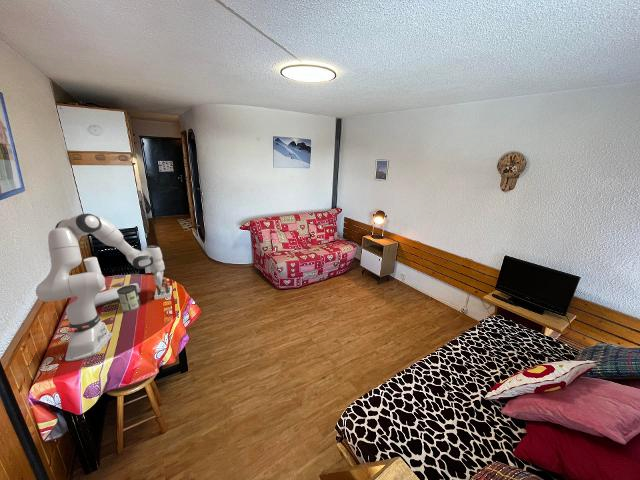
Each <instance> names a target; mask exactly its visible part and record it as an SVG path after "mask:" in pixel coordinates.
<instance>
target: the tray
mask: <svg viewBox="0 0 640 480" xmlns="http://www.w3.org/2000/svg"><path fill="white" fill-rule="evenodd" d="M128 285H135V286H136V288H137V292H138V294H139V293H141V289H140V286H139V284H138V282H135V283H134V282H133V283H131V284H127V285H123V286H120V287H116V288H111V289H107V290H105V291H104V290H103V291H100V292H98V293H97V295H96V297H95V300H94V304H95V308H96V307H99V306H102V305H106V304H109V303H112V301H113V302H116V301H120V300H119V296H118V293H117V290H118V289H120V288H121V287H124V286H128Z"/></svg>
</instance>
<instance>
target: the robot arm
mask: <svg viewBox="0 0 640 480" xmlns="http://www.w3.org/2000/svg"><path fill="white" fill-rule="evenodd" d="M89 234H91V235H93V236H94V237H95V239H98V240H99V241H100V242H101V243H103V244H104V245H106V246H109V247H114V248H116V249H118V250H119V251H120V252H121V253H122V254H123V255H125V256H124V257H125V258H126V260H127V261H128V263H129V264H131V266H133V267H134V268H135V269H138V270H141V269H146V268H147V267H149V268H148V269H149V272H151V273H152V274H153V279H154V285H155V286H156V285H158V286H159V289H160V288H163V285H161V284H162V283H163V282H162V280H164V279H163V278H164V271H165V269H166V267H165V262H164V260H163V253H162V250H161V248H160V247H159V246H158V245H154V244H153V245H151V244H150V245H147V246H146V247H145V248H144V249H143V250H140V249H137V248H134V247H132V245H130V244H129V243H128V242H127V241H126V240H125V239H124V235H123V233H122V232H121V231H120V229H118V227H116V225H114V224H113V223H112V222H110V221H109V220H107V219H106V218H104V217H102V216H100V215H94V214H92V213H80V214H79V215H74V216H70V217H67V218H65V219H62V220H60V221H58V223H56V224H55V228H54V229H52V230H50V231H49V232H48V237H47V239H48V241H47V242H48V243H47V245H48V251H49V256H50V263H51V264H50V265H51V266H50V271H49V273H48V274H47V275H46V277H45V278H44V279H43V280H42V281H41V282H40V283H38V284H37V286H36V288H35V295H36V297H37V298H38V299H39V301H40V300H41V301H42V302H56V301H62V300H65V299H70V298H77V299H75V300H74V301H72V302H71V303H69V304H68V305H67V306H66V308H65V314H66V316H67V318H68V327H69V328H68V330H67V332H68V333H69V338H68V345H67V350H66V354H65V358H64V360H65V362H74V361H75V362H76V361H78V360H79V361H81V360H83V359H87V358H90V357H92V355H93V356H96V355H97V354H99V353H101V351H102V350H103V349H102V348H104V347H105V346H106V345H105V344H107V343H108V342H109V340H110V339H111V338H112V336H113V335H114V334H113V332H110V331H109V330H108V327H107V325H106V324H105V322H104V321H102V320H101V318H100V314H99V312H98V311H97V310H96V309H97V308H96V307H95V304H94V300H95V297H96V295H97V293H100V292H101V291H100V290H101V289H102V288H103V287H104V285H105V286H106V278H105V275H103V273H102V272H101V273H102V274H101V273H99V272H87V271H86V272H81V273H77V274H72V275H70V272H71V271H72V270H73V269H75V268H77V267H78V266H80V265H81V263H82V260H83V258H82V254H81V249H80V248H81V247H80V244H79V241H78V238H79V237H83V236H86V235H89ZM99 291H100V292H99Z"/></svg>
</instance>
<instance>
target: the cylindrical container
mask: <svg viewBox="0 0 640 480" xmlns="http://www.w3.org/2000/svg"><path fill="white" fill-rule="evenodd" d="M83 262H84V265H85V269H86V273H87V272H99V273H101V274H102V275H103V273H102V271H101V267H100V264H99V261H98V258H97V257H96V256H91V257H90V256H89V257H87V258H83ZM106 288H107V287H106V284H105V285H104V287H103V288H102V289H101V290H100V291H99V292H98V293H100V292H104V290H105V291H106Z"/></svg>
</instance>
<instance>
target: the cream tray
mask: <svg viewBox="0 0 640 480" xmlns="http://www.w3.org/2000/svg"><path fill="white" fill-rule="evenodd" d="M168 289H169V292H168V294H166V293H165V294H161V293H160V295H158V292H157V288H155V292H154V296H153V298H154V300H155V301H156V300H161V299H166V298H167V299H168V298H171V297H172V293H173V286H172V285H168ZM160 290H161V291H162V290H165V286H164V287H163V286H162V288H160ZM165 291H166V290H165Z"/></svg>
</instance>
